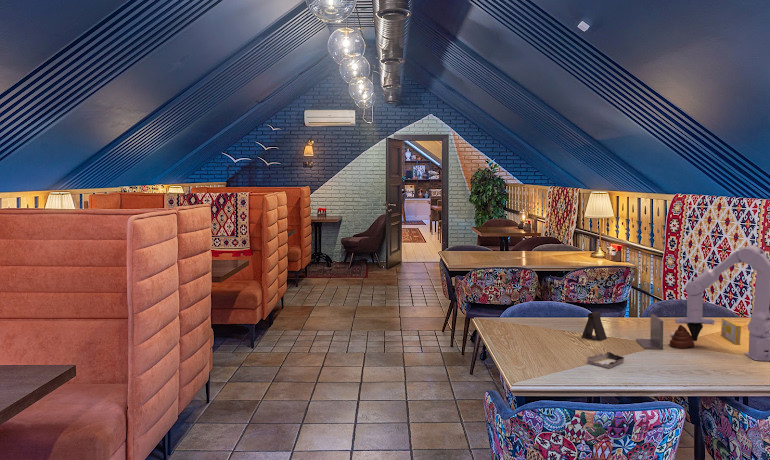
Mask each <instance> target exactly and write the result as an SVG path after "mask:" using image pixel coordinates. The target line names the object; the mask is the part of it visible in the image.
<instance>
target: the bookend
mask: <svg viewBox="0 0 770 460" xmlns="http://www.w3.org/2000/svg"><path fill="white" fill-rule="evenodd" d="M635 341H636V343H638V344H639V345H640V346H641V347H642V348H643V349H644V350H664V320H662V319H661V318H660V317H658V316H657V315H655V314H654V313H651V314H650V338H636V339H635Z"/></svg>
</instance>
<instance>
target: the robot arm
mask: <svg viewBox="0 0 770 460" xmlns="http://www.w3.org/2000/svg"><path fill="white" fill-rule="evenodd" d="M740 263H745V264H746V265H749V266H750V267H751V268H752V269H753V270H755V271H756V276H755V277H756V278H755V287H754V302H753V311H752V313H751V316H750V317H751V318H750V321H749V322H748V324H747V330H748V352H743V354H744V355H745V356H747V357H749V358H750V359H752V360H753V361H758V362H759V361H761V362H762V361H763V362H765V361H766V362H770V259H769V258H768V256H767V254H766V253H765V251H764V250H763V249H761V248H760V247H759V246H757V245H755V244H754V245H752V244H751V245H748V246H743V247H741V248H740V249H739V250H737V251H735V252H732V253H731V254H730V255H728V256H727V257H726V258H725V259H723V260H722V261H721V262H719V263H718V265H716V266H715V267H714V268H707V269H703V270H702V271H701V273H700V274H699V275H698V276H695V277H693V280H692V281H688V283H686V285H685V289H684V290H685V292H686V294H687V297H686V301H687V302H686V317H685V318H684V317H682V318H675V323H676V324H677V325H682V324H685V325H686V326H687V328H688V331H689V333H690V335H691V336H692V338H693V341H694V342H697V341H698V338H699V335H700V333H701V331H702V329H703V328H704V325H715V320H714V319H713V318H703V313H704V312H703V309H704V308H703V303H704V302H703V301H704V299H703V293H704V292H705V290H706V289H708V288H709V287H711V286H712V285H713V284H715V283H716V282H717V281H719V278H720V275H721V274H723V273H724V272H725V271H727V270H728V269H730V268H731V267H732V266H734V265H735V264H740Z"/></svg>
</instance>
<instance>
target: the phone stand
mask: <svg viewBox="0 0 770 460" xmlns="http://www.w3.org/2000/svg"><path fill="white" fill-rule="evenodd" d="M593 333H594V335H593ZM581 338H582V339H587V340H592V341H597V342H602V341H604V340H607V334H606V331H605V328H604V325H603V322H602V318H601V312H600V311H597V310H596V311H593V312H590V313H588V314H587V321H586V325H584V330H583V332H582V335H581Z"/></svg>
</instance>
